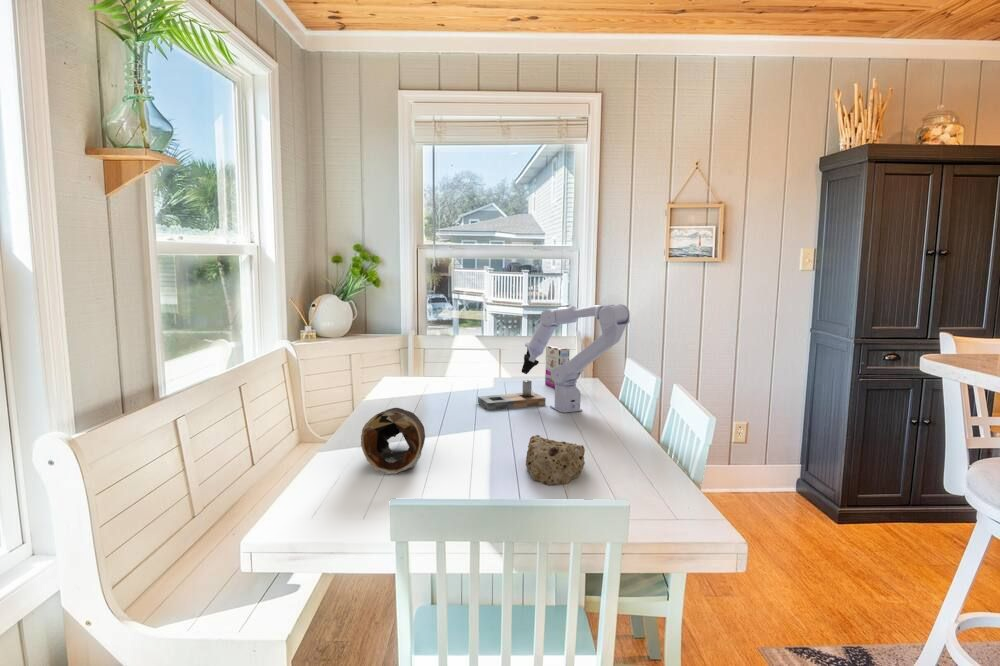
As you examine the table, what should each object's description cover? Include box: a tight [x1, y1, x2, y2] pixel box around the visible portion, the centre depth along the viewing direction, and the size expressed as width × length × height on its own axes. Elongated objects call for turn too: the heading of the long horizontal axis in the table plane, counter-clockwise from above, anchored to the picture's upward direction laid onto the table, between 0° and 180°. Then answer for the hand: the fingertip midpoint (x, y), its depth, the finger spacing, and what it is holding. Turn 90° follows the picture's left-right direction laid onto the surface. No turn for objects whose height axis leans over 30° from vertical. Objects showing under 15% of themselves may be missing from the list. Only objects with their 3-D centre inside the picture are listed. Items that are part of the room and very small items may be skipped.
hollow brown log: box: [360, 407, 426, 475], centre depth 155 cm, size 15×15×25 cm
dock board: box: [477, 391, 546, 411], centre depth 213 cm, size 10×22×2 cm, turn 113°
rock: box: [525, 434, 586, 486], centre depth 147 cm, size 21×14×10 cm
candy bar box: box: [544, 345, 570, 389], centre depth 242 cm, size 11×5×16 cm, turn 25°
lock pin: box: [521, 379, 533, 398], centre depth 215 cm, size 3×3×8 cm
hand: (525, 367), depth 219 cm, fingers open, 7 cm apart
